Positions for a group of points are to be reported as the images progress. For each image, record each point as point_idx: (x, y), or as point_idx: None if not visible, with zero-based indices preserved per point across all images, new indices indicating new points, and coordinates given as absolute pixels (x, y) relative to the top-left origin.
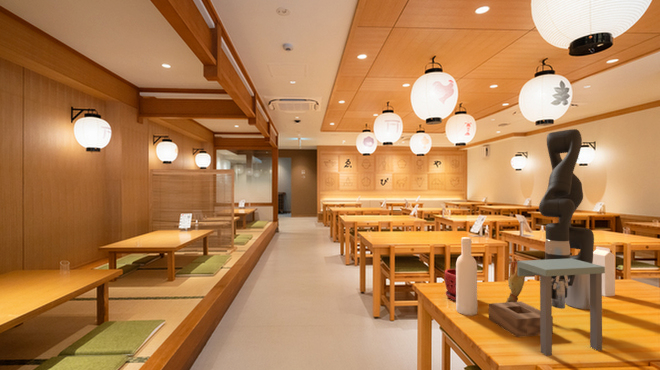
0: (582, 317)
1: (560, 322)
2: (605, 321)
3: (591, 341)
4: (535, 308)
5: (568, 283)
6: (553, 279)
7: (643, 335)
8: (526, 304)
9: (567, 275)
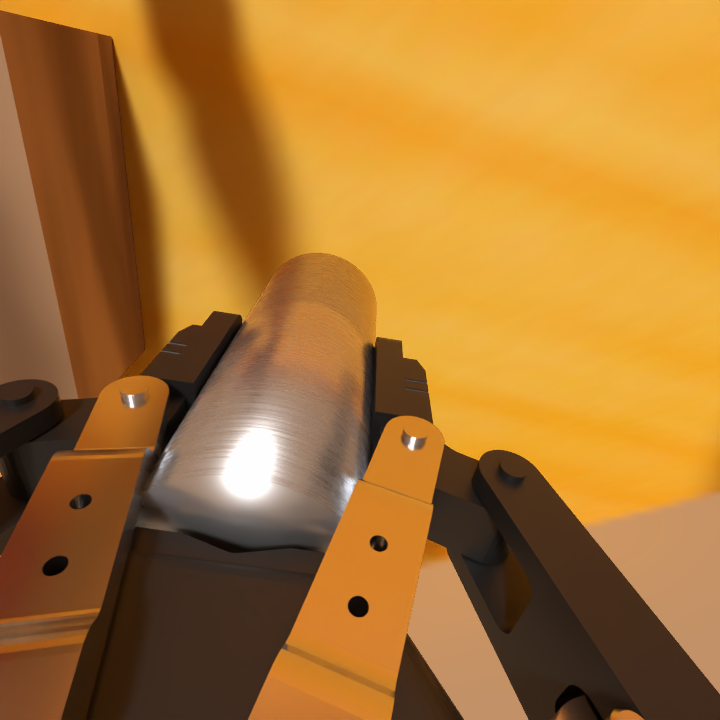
0: (626, 248)
1: (358, 253)
2: (679, 345)
3: None
4: (44, 261)
5: (449, 543)
6: (158, 529)
7: (609, 494)
8: (9, 136)
9: (567, 656)
